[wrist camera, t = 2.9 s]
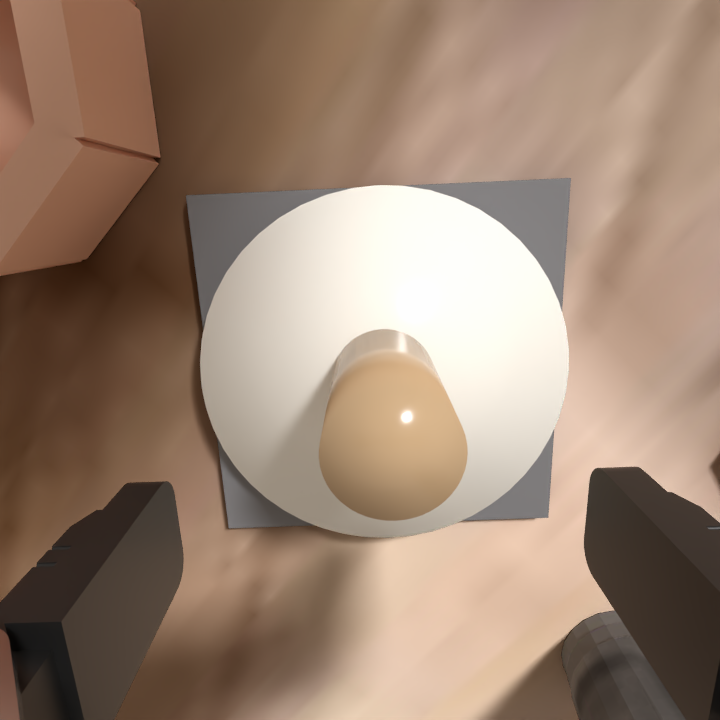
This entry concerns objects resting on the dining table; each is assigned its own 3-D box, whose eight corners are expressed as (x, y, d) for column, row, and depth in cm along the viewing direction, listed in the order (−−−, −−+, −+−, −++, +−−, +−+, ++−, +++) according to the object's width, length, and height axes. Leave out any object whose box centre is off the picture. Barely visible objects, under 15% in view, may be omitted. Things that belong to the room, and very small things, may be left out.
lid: (570, 178, 17) (703, 155, 11) (547, 517, 21) (635, 663, 14) (186, 195, 18) (75, 184, 11) (228, 527, 21) (165, 675, 14)
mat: (564, 179, 18) (570, 178, 17) (543, 509, 21) (548, 517, 21) (191, 195, 18) (185, 195, 17) (232, 519, 22) (229, 528, 21)
